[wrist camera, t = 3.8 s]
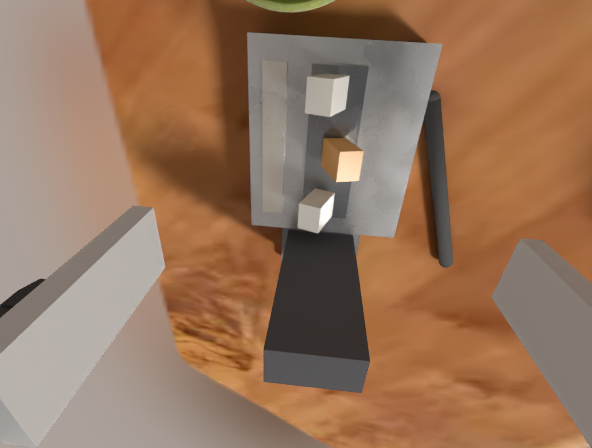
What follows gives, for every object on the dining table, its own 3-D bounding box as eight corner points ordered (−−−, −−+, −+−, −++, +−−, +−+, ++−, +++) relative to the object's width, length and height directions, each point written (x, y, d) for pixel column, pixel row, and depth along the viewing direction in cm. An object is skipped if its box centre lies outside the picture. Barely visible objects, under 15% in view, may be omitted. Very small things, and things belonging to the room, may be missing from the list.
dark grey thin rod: (419, 92, 23) (424, 94, 22) (436, 87, 23) (441, 89, 22) (437, 263, 30) (441, 271, 29) (450, 261, 30) (455, 269, 29)
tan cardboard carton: (323, 138, 21) (340, 151, 19) (345, 137, 22) (363, 151, 19) (321, 166, 22) (336, 182, 20) (341, 165, 23) (358, 180, 20)
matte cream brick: (315, 188, 24) (299, 203, 22) (334, 192, 23) (320, 208, 21) (313, 211, 25) (297, 227, 23) (331, 215, 24) (317, 233, 22)
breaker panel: (256, 33, 22) (246, 32, 19) (428, 43, 21) (443, 44, 19) (258, 208, 29) (251, 226, 26) (387, 220, 29) (394, 238, 26)
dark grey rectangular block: (283, 218, 29) (253, 340, 17) (360, 225, 29) (383, 354, 17) (282, 256, 32) (254, 387, 20) (353, 262, 31) (369, 400, 19)
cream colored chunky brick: (325, 73, 20) (307, 76, 18) (349, 75, 19) (334, 79, 17) (322, 106, 21) (304, 113, 19) (345, 109, 20) (330, 117, 18)
